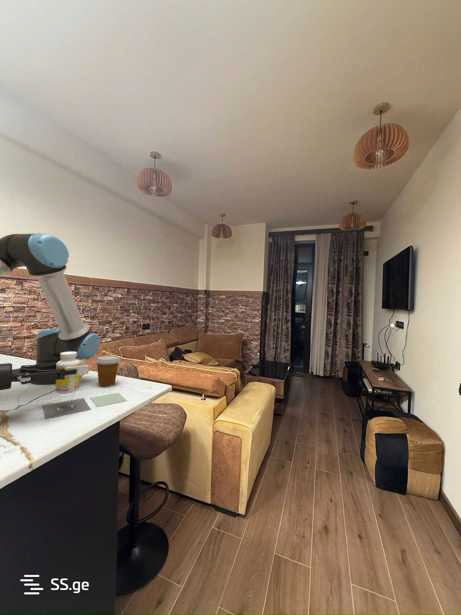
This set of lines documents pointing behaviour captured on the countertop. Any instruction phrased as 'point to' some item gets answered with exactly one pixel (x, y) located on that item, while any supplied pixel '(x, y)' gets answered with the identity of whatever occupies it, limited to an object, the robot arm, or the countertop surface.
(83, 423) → the countertop surface
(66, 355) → the supplement bottle
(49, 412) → the mat
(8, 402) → the countertop surface
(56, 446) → the countertop surface
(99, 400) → the mat
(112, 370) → the disposable coffee cup
